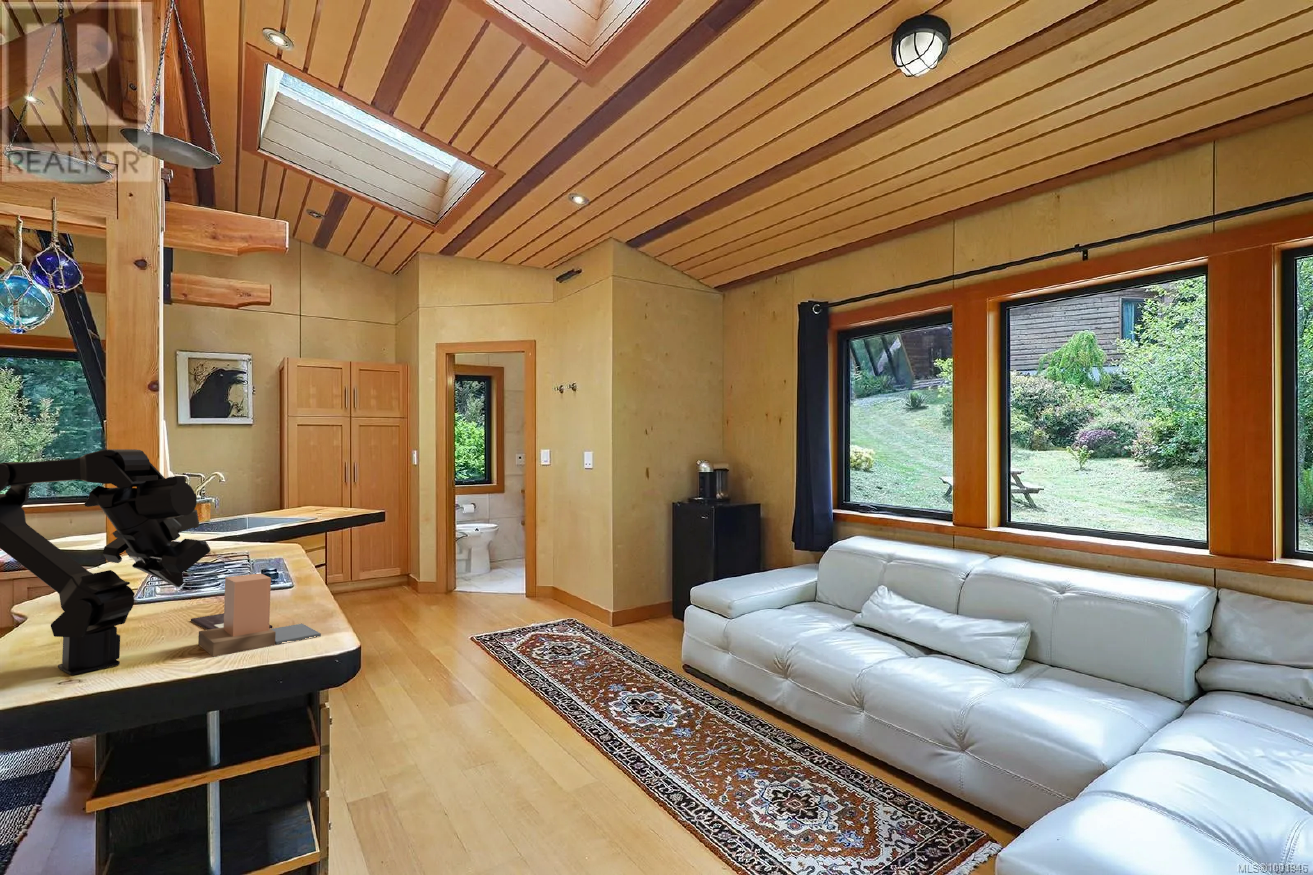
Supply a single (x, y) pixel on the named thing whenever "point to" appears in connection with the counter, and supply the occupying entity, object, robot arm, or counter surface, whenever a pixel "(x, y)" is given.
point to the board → (233, 641)
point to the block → (247, 604)
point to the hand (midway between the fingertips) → (179, 585)
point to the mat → (294, 633)
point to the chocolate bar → (211, 621)
